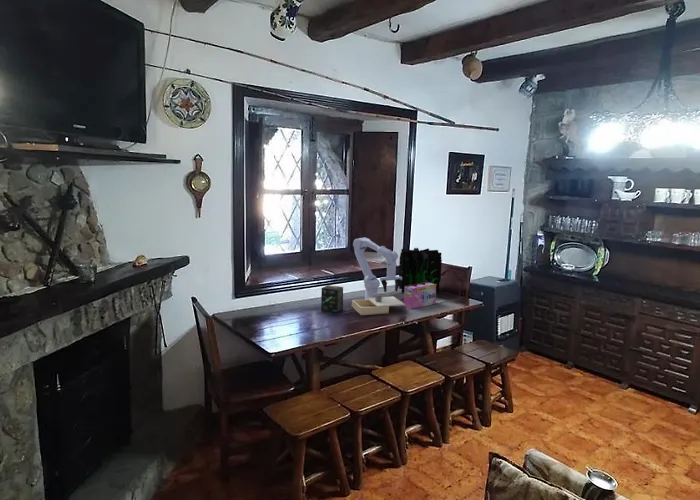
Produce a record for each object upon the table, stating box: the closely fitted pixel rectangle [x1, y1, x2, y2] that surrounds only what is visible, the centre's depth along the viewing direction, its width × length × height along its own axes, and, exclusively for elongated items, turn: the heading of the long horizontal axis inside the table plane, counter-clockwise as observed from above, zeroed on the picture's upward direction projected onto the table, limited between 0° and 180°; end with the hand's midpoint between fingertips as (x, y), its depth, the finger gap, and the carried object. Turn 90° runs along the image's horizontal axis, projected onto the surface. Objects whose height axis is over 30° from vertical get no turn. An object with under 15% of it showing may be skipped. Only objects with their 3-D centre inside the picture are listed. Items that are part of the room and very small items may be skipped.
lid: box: [368, 294, 405, 307], centre depth 295 cm, size 18×18×5 cm
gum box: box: [403, 282, 437, 309], centre depth 307 cm, size 24×8×14 cm, turn 128°
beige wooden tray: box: [351, 298, 390, 316], centre depth 293 cm, size 18×18×4 cm
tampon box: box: [320, 284, 344, 314], centre depth 290 cm, size 11×9×15 cm
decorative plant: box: [398, 247, 443, 294], centre depth 343 cm, size 29×30×30 cm
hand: (390, 291), depth 299 cm, fingers open, 7 cm apart
